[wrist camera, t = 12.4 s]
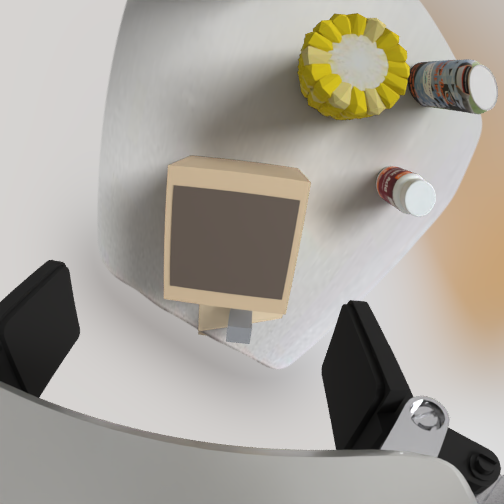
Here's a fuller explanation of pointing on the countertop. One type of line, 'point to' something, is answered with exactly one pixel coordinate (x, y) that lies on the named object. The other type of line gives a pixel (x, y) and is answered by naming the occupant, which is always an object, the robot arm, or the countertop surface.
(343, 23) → the food
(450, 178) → the countertop surface
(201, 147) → the countertop surface
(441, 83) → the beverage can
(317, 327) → the countertop surface
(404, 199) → the pill bottle
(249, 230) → the carton
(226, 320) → the flap
